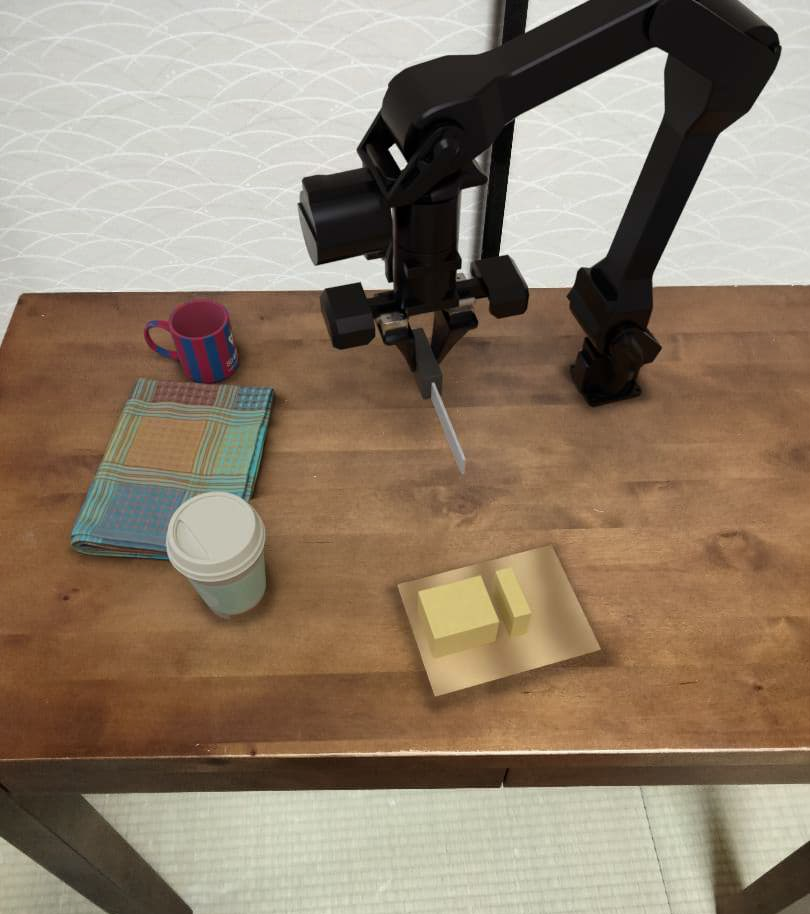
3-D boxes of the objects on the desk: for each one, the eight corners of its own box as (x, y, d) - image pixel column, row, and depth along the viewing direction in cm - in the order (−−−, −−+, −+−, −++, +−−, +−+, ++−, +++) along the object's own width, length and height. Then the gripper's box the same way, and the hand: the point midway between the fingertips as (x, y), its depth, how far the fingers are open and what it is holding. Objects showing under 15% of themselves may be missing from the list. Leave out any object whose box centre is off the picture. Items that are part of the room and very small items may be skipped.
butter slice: (507, 588, 78) (511, 566, 75) (526, 633, 75) (531, 612, 72) (491, 592, 78) (495, 570, 74) (510, 637, 75) (514, 617, 72)
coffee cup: (194, 559, 82) (164, 489, 71) (280, 553, 82) (262, 482, 72) (190, 637, 77) (157, 574, 67) (280, 629, 77) (261, 566, 67)
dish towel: (69, 556, 82) (60, 542, 80) (135, 386, 95) (128, 370, 93) (237, 570, 81) (232, 556, 79) (280, 397, 94) (277, 381, 92)
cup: (231, 386, 95) (220, 342, 89) (148, 379, 95) (131, 334, 90) (244, 346, 98) (234, 301, 93) (164, 339, 99) (149, 294, 93)
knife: (422, 348, 85) (422, 326, 83) (473, 472, 76) (475, 451, 74) (404, 352, 85) (404, 330, 83) (452, 476, 76) (454, 456, 74)
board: (549, 552, 82) (551, 544, 81) (598, 656, 76) (601, 649, 74) (397, 592, 80) (396, 584, 78) (434, 703, 73) (434, 696, 72)
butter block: (477, 596, 78) (480, 574, 74) (495, 641, 75) (499, 621, 72) (417, 612, 77) (417, 591, 73) (433, 659, 74) (434, 639, 71)
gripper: (498, 163, 75) (485, 298, 88) (299, 196, 72) (316, 331, 85) (541, 236, 69) (520, 370, 82) (326, 276, 66) (340, 407, 79)
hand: (423, 366), depth 82 cm, fingers closed on knife, 2 cm apart
